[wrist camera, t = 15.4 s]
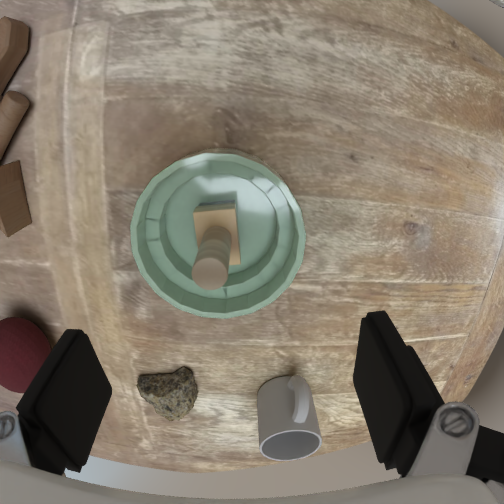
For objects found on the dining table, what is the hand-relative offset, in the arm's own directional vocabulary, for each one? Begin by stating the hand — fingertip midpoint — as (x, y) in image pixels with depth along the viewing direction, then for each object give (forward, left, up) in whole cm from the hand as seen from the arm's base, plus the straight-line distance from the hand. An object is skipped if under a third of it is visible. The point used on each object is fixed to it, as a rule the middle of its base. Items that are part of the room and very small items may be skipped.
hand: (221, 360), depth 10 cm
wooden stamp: (+3, 0, -21) cm, 21 cm away
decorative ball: (+32, -11, -22) cm, 40 cm away
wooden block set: (+8, -25, -22) cm, 34 cm away
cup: (+15, +20, -22) cm, 33 cm away
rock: (+25, +8, -22) cm, 34 cm away
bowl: (+3, 0, -21) cm, 22 cm away
